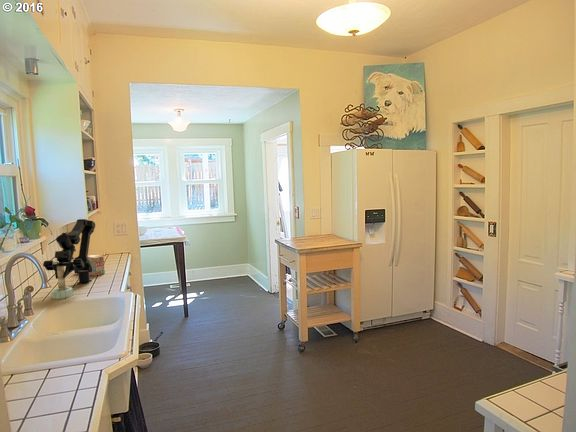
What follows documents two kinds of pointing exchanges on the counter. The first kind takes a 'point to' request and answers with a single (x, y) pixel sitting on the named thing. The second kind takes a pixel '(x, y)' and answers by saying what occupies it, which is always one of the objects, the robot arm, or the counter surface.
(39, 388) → the counter surface
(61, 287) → the peg
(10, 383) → the counter surface
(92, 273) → the beige printed box
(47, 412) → the counter surface
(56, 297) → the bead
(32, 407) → the counter surface
